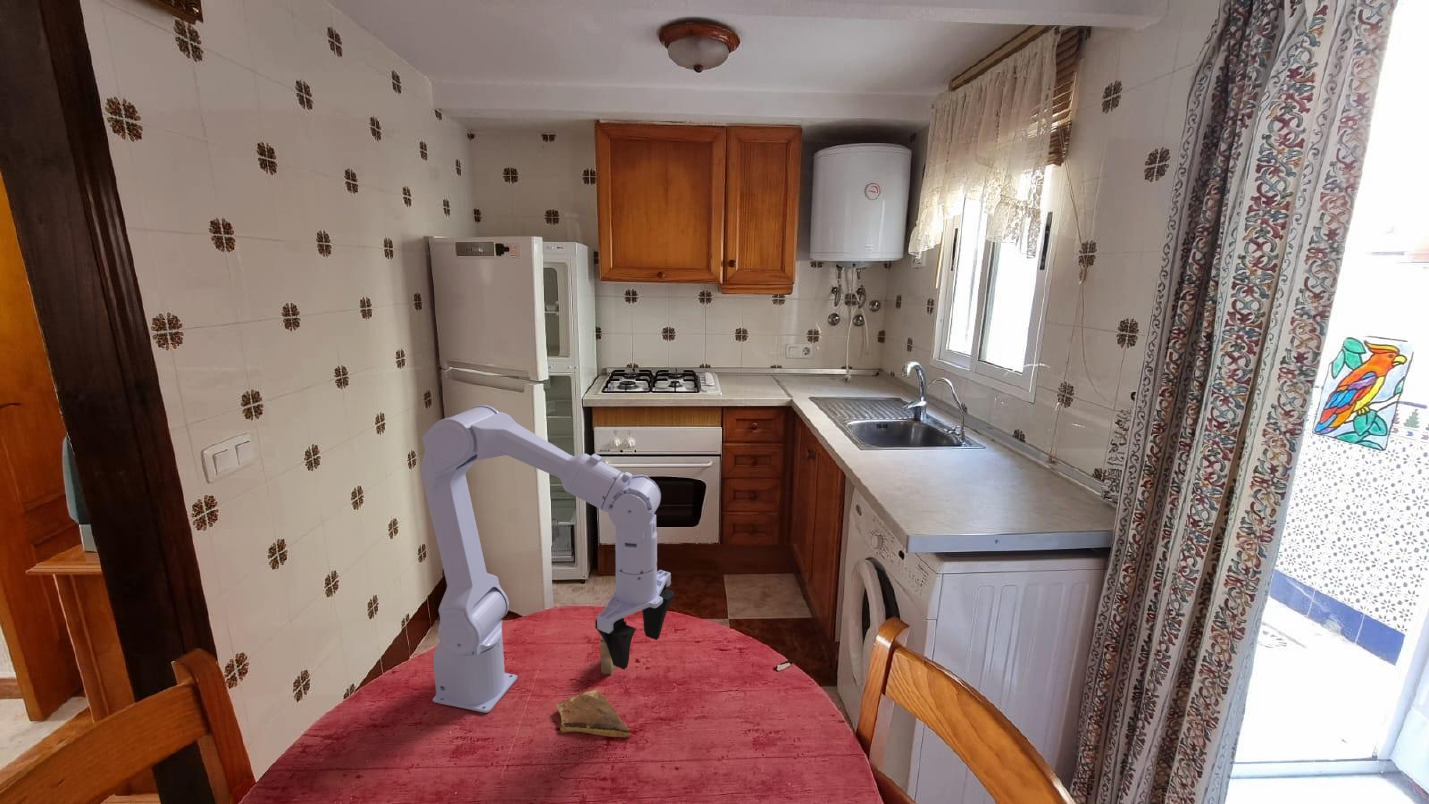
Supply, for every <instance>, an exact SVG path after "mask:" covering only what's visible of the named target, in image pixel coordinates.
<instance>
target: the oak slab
mask: <svg viewBox="0 0 1429 804" xmlns="http://www.w3.org/2000/svg"><path fill="white" fill-rule="evenodd" d="M616 669H617V667H616V666H614V665H613V662H612V659H611V656H610V653H609V650H608V647H607V645H606V643H605V641H604V639H603V637H602V636H601V638H600V673H601V674H605V675H613V674H614V673H615V670H616Z"/></svg>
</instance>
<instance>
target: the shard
mask: <svg viewBox="0 0 1429 804" xmlns="http://www.w3.org/2000/svg"><path fill="white" fill-rule="evenodd" d="M555 707H556V709H557V710H558V713H559V715H560V719H561V725H560V727H559V728H560V729H559V730H560V731H561V733H567V732H568V733H570V732H571V733H572V732H573V733H574V732H577V733H585V734H591V735H598V736H604V737H605V736H606V737H611V738H613V737H615V738H627V737H630V734H632V732H631V730H630V729H629V728H628V726H627V725H626V724H625V723H624V722H623V721H622V719H621V718H620V717H619V715H618V713H617V711H616V710H615V709H614V708H613V706H612V704H611V703H610V702H609V701H608V699H607V698H606V697H605V696H604V695H602V693H601V692H600V691H599V690H590V691H585V692H582V693H579V694H577V695H576V696H575V695H574V696H573V697H571V698H568V699H566V700H562V701H561V702H558V703H557V704H556V705H555Z"/></svg>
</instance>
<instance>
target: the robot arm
mask: <svg viewBox="0 0 1429 804" xmlns="http://www.w3.org/2000/svg"><path fill="white" fill-rule="evenodd" d="M422 443H423V447H424V454H423V457H422V462H421V467H420V474H421V479H422V484H423V487H424V491H425V495H426V496H425V497H426V501H427V506H428V509H429V514H430V518H431V522H432V527H433V530H434V534H435V535H434V536H435V539H436V543H437V546H438V547H437V548H438V551H439V556H440V561H441V565H442V569H443V574H444V577H445V581H446V585H447V586H446V588H445V589H446V590H445V592H444V594H443V597H442V599H441V601H440V604H439V607H438V614H439V624H438V628H437V636H438V639H439V642H438V644H437V645H436V647H435V649H434V654H433V663H432V665H433V672H434V673H433V674H434V684H435V696H434V697H433V698H432V702H433V703H436V704H441V705H445V706H451V707H456V708H460V709H465V710H471V711H475V712H480V713H485V714H486V713H490V711H492V710H493V708H494V707H495V706H496V704H497V703H498V702H499V701H500V700H501V699H502V697H503V696H504V695H505V694H506V692H508V690H509V689H510V688H511V687H512V686H513V684H514V683H515V682H516V681H517V679H518V675H517V674H512V673H508V672H505V671H506V670H505V657H504V643H503V629H502V627H503V618H504V617H506V615H507V614H508V612H509V609H510V601H509V597H508V596H507V594H506V592H505V591H504V590H503V589H502V587H501V585H500V582H499V577H498V576H496V575H494V574H491V573H489V572H488V571H487V568H486V567H487V566H486V563H485V558H484V554H483V550H482V545H481V540H480V535H479V531H478V526H477V522H476V517H475V512H474V508H473V504H472V497H471V495H470V494H471V493H470V490H469V484H468V481H467V480H468V479H467V476H466V475H467V472H469V470H470V469H471V467H472V466H473V465H474V464H475V463H476V462H477V461H482V460H487V459H492V458H497V457H504V456H508V457H511V458H512V459H515V460H518V461H519V462H522V463H524V464H526V465H529V466H531V467H533V468H535V469H538V470H540V471H543V472H545V473H547V474H549V475H552V476H553V477H556V478H558V479H560V482H561V485H562V487H563V490H564V491H565V492H566V493H569V494H571V495H573V496H575V497H577V498H578V499H580V500H581V501H584V502H587V503H588V504H590V505H592V506H594V507H596V508H598V509H600V510H602V511H604V512H606V513H608V516H609V519H610V522H611V523H612V524H613V525H614V526H615V536H614V539H615V541H614V542H615V543H614V544H615V547H614V548H615V551H614V552H615V592H614V593H613V594H612V596H611V597H610V599H609V601H608V602H607V604H606V605H605V607H604V608H603V610H602V611H601V612H600V613H599V614H598V615H597V616H596V619H595V620H594V621H595V623H594V625H595V627H594V628H595V629H596V630H597V632H598V633H599V635H600V636H601V638H602V637H603V639H604V641H605V643H606V645H607V647H608V650H609V653H610V656H611V659H612V662H613V665H614V666H616V668H619V669H621V670H623V671H624V670H625V669H626V668H628V665H629V661H630V652H631V651H630V650H631V643H632V639H633V637H634V634H635V632H636V631H637V628H636V627H633V626H631V625H627V621H625V618H626V617H629V616H631V615H633V614H636V613H639V612H640V611H642V620H643V629H644V635H645V637H647V638H650V639H652V640H655V641H657V640H659V639H660V635H661V633H662V629H663V626H664V623H665V622H664V621H665V619H666V615H667V612H668V610H669V608H670V605H671V604H672V603H673V601H674V599H675V592H674V591H673V590H672V589H668V587H669V586H671V584H672V581H671V579H672V576H671V575H672V574H671V572H669V571H665V570H662V569H659V570H658V533H657V532H658V531H657V514H655V513H656V511H657V509H658V508H659V506H660V504H661V499H662V493H661V488H659V485H658V484H657V483H656V481H654V480H653V479H651V478H650V477H649V476H648V475H645V474H636V475H633V474H632V473H631V472H628V471H625V472H623V471H621V470H619V469H617V468H616V467H613V466H611V465H609V464H607V463H606V462H604V461H602V456H600V455H599V454H596V453H593V454H591V455H589V454H588V453H581V454H578V455H572V454H569V453H568V452H566V451H564V450H563V449H561V448H559V447H558V446H556V445H555V444H553V443H551V442H549V441H548V440H545V439H544V438H542V437H541V436H539V435H537V434H535V432H532V431H530V430H529V429H527V428H526V427H524V426H522V425H520V424H519V423H517V422H516V421H515V420H514V419H513V418H512V416H511V415H509V414H508V413H505V412H503V411H500V412H499V411H498V410H497V409H496V408H495V407H493V406H490V405H485V404H479V405H475V406H473V407H472V408H470V409H468V410H465V411H463V412H461V413H458V414H456V415H452V416H450V417H446V418H443V419H440V420H437V421H436V422H435V423H434V424H433V425H432V426H431V427H430V428H429V429H428V430H427V431H426V433H424V435H423V436H422Z"/></svg>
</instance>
